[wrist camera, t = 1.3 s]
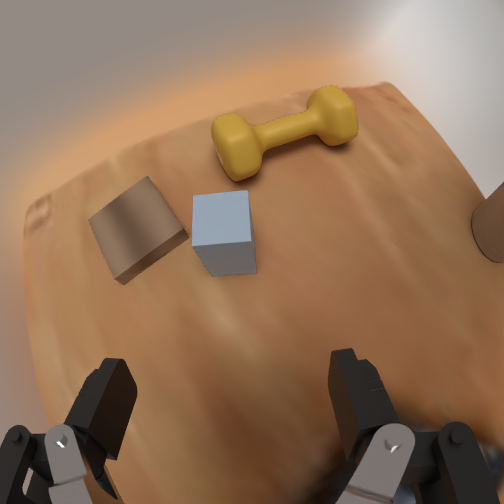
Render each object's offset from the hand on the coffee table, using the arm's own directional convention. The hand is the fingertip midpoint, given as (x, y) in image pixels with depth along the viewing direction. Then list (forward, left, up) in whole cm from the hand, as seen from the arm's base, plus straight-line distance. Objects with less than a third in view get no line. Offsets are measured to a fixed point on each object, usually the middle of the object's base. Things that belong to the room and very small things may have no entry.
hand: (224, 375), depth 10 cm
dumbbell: (-20, -20, -20) cm, 35 cm away
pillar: (-5, -11, -20) cm, 24 cm away
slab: (+3, -21, -20) cm, 30 cm away
